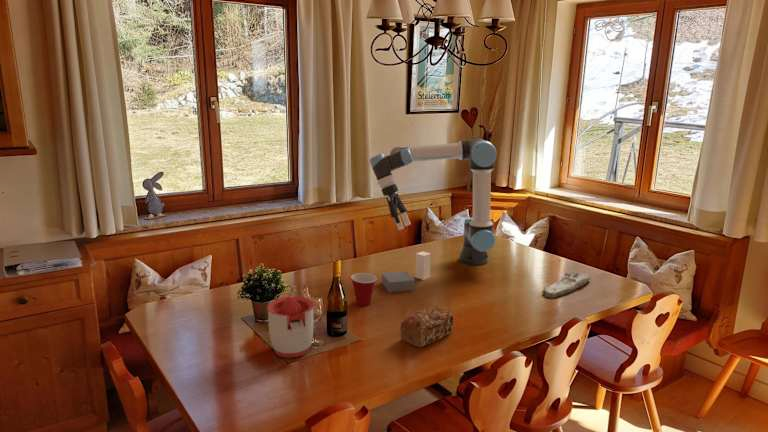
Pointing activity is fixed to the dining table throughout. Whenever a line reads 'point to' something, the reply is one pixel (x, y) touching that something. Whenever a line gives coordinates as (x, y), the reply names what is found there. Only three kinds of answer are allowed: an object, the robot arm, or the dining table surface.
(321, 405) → the dining table surface
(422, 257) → the cream pillar block
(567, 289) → the stone
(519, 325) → the dining table surface
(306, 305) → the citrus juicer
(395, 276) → the blue-grey flat block
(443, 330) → the bread
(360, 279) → the plastic cup
